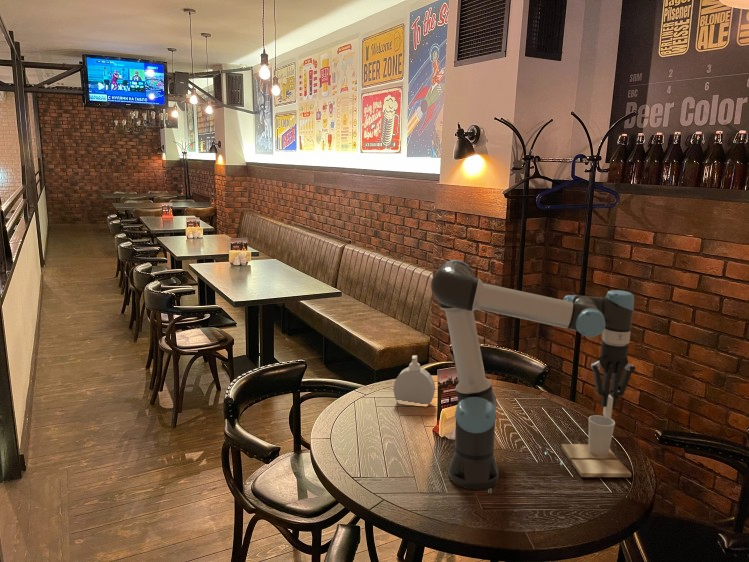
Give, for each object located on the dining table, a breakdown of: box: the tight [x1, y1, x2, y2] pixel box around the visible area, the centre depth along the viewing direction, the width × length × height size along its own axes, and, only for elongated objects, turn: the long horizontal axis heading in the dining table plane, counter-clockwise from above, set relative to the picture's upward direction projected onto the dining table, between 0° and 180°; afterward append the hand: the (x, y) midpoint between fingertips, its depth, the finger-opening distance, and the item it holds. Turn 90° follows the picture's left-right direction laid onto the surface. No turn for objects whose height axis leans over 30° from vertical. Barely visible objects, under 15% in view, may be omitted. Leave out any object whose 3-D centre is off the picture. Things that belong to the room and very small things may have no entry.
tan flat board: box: [561, 443, 619, 463], centre depth 183 cm, size 15×9×1 cm, turn 89°
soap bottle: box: [392, 354, 436, 406], centre depth 220 cm, size 16×5×20 cm, turn 75°
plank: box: [570, 459, 632, 478], centre depth 173 cm, size 15×9×1 cm, turn 89°
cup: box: [587, 414, 616, 457], centre depth 182 cm, size 8×8×12 cm
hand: (606, 416), depth 171 cm, fingers closed
